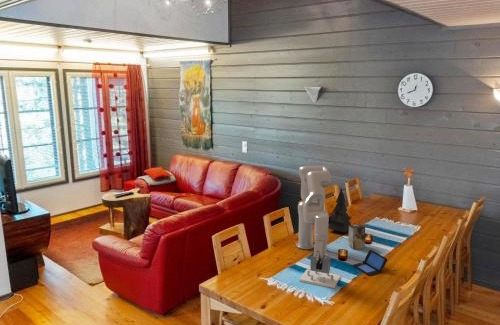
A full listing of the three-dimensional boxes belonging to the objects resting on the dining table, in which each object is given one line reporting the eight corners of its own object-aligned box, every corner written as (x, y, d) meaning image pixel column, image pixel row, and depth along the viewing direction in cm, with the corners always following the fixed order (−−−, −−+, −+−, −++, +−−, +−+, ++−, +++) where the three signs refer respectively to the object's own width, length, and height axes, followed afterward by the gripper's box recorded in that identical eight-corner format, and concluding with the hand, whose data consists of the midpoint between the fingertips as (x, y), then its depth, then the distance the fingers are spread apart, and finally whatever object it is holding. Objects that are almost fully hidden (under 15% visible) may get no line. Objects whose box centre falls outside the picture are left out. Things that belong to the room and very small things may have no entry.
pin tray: (306, 271, 235) (306, 265, 234) (340, 277, 226) (340, 271, 225) (299, 281, 222) (299, 275, 222) (334, 288, 214) (334, 282, 213)
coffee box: (359, 246, 272) (360, 223, 269) (364, 249, 266) (365, 226, 263) (347, 247, 270) (348, 225, 267) (352, 251, 264) (353, 228, 261)
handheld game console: (351, 266, 240) (352, 252, 239) (369, 263, 246) (370, 249, 244) (369, 277, 226) (370, 262, 225) (387, 273, 232) (388, 258, 230)
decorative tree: (345, 237, 287) (347, 191, 281) (326, 233, 296) (327, 188, 289) (352, 232, 299) (354, 187, 293) (334, 228, 307) (336, 184, 301)
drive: (312, 266, 227) (313, 253, 226) (330, 270, 223) (330, 256, 222) (310, 270, 223) (310, 256, 222) (327, 273, 219) (328, 259, 217)
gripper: (318, 230, 229) (318, 260, 232) (310, 240, 214) (309, 272, 217) (331, 232, 226) (330, 262, 229) (323, 242, 210) (322, 274, 214)
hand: (320, 266), depth 223 cm, fingers closed on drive, 5 cm apart
